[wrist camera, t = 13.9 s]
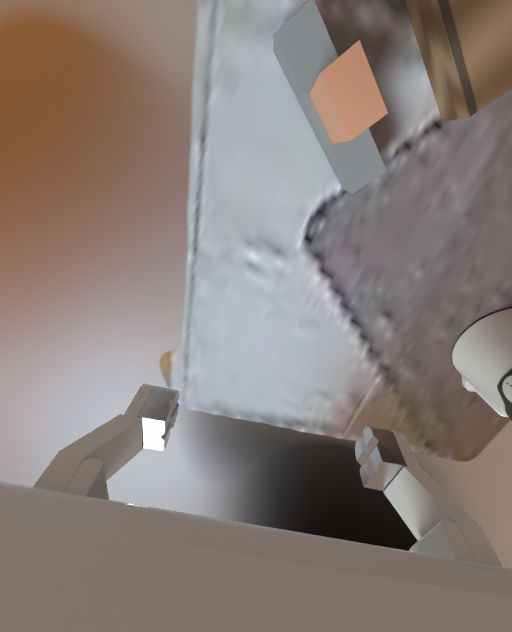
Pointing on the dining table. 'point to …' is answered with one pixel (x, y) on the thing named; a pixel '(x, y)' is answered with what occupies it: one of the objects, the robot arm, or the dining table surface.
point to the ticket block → (464, 51)
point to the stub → (333, 95)
